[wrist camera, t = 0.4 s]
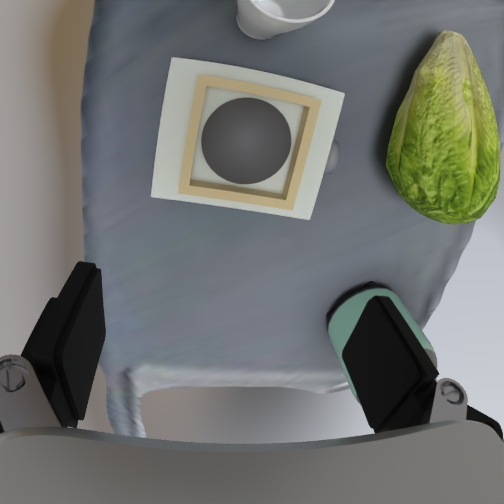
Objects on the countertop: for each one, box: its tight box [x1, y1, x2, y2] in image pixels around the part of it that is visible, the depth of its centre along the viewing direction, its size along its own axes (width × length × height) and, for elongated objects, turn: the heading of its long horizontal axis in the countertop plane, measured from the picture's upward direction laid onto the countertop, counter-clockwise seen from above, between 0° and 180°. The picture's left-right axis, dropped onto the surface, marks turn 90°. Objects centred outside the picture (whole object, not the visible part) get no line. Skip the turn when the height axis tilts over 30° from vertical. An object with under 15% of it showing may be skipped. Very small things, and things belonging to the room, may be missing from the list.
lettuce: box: [386, 30, 500, 224], centre depth 31 cm, size 15×24×14 cm, turn 173°
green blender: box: [326, 281, 438, 404], centre depth 36 cm, size 19×13×35 cm
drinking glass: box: [236, 0, 335, 40], centre depth 22 cm, size 7×7×15 cm
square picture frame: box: [151, 57, 345, 220], centre depth 33 cm, size 15×19×6 cm
